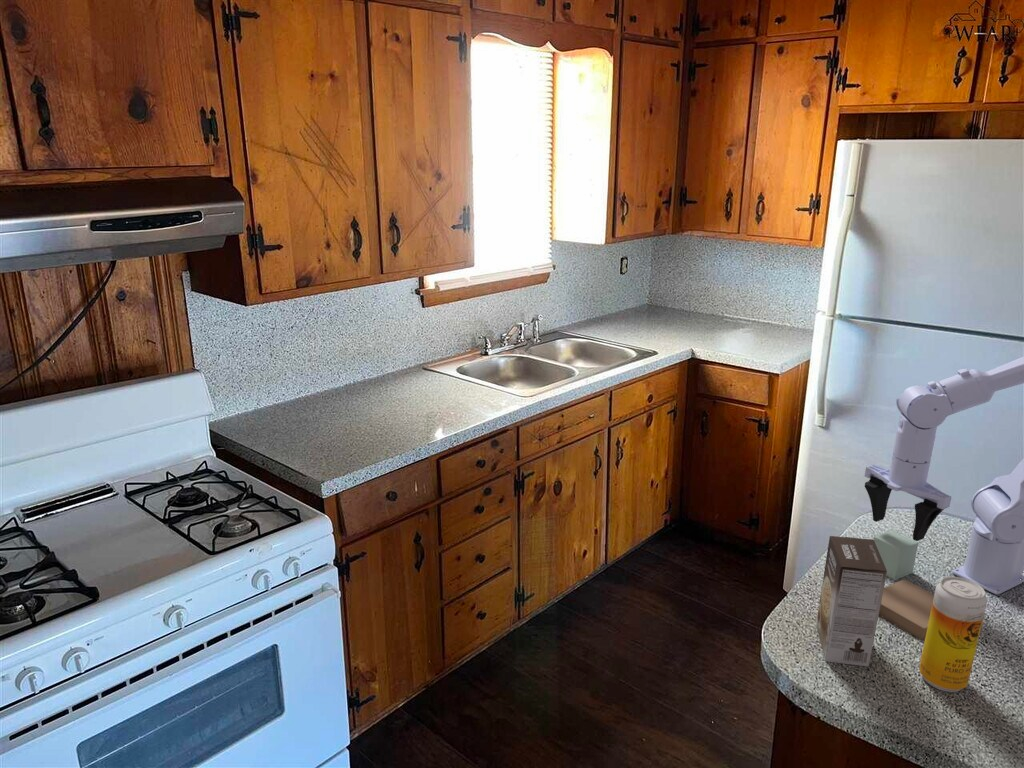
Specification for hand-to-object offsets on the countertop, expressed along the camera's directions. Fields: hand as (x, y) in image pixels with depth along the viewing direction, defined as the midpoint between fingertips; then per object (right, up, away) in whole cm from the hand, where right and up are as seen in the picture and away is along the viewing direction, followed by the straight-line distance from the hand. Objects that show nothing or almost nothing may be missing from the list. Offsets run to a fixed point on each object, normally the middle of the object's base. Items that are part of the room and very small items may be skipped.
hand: (897, 529), depth 134 cm
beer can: (-6, -17, -25) cm, 31 cm away
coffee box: (-18, -14, -18) cm, 29 cm away
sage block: (0, -8, +3) cm, 8 cm away
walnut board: (-3, -12, -10) cm, 16 cm away
